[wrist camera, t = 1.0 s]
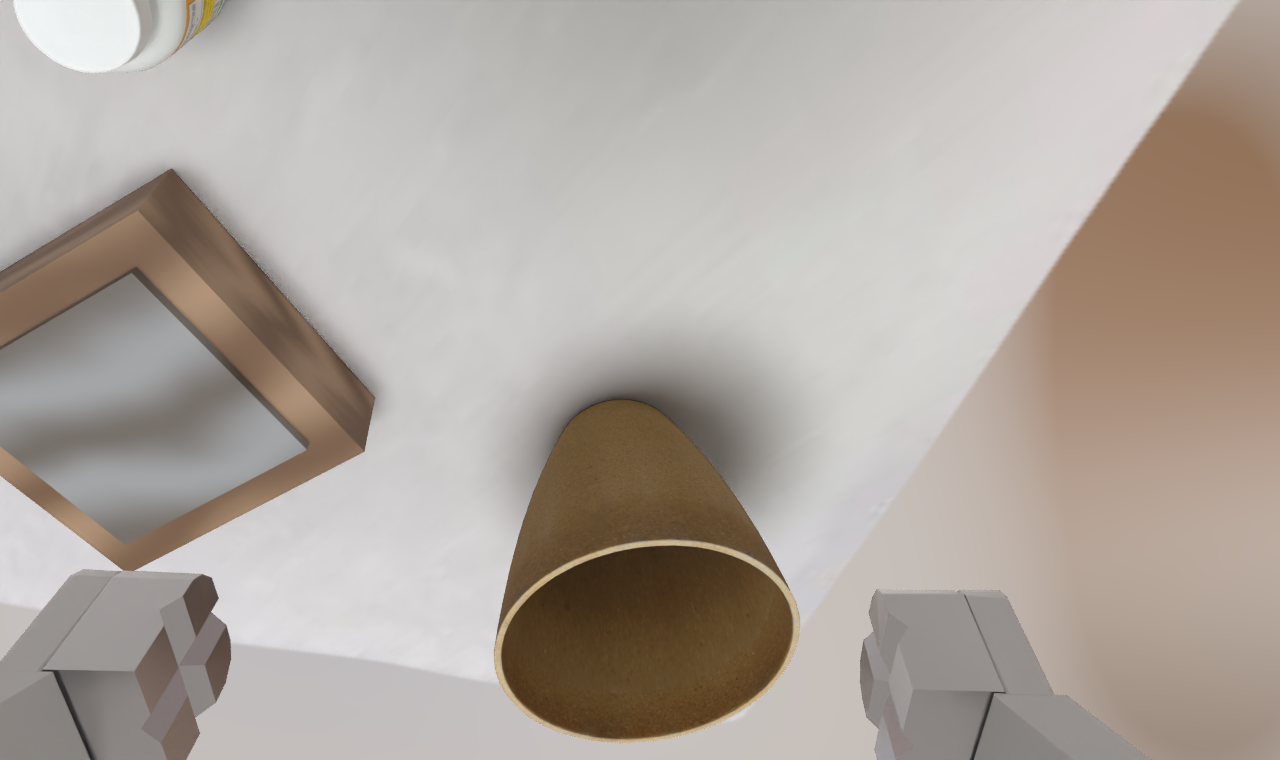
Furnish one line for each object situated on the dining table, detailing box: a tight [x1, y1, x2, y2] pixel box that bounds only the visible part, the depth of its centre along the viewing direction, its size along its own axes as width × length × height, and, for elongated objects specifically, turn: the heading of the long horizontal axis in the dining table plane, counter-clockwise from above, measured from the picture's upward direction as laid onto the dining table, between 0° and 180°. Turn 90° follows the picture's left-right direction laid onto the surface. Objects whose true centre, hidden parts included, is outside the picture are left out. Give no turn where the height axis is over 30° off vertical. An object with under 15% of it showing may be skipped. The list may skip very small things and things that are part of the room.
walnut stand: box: [0, 169, 375, 571], centre depth 47 cm, size 16×16×6 cm
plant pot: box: [494, 400, 800, 743], centre depth 51 cm, size 15×15×16 cm
